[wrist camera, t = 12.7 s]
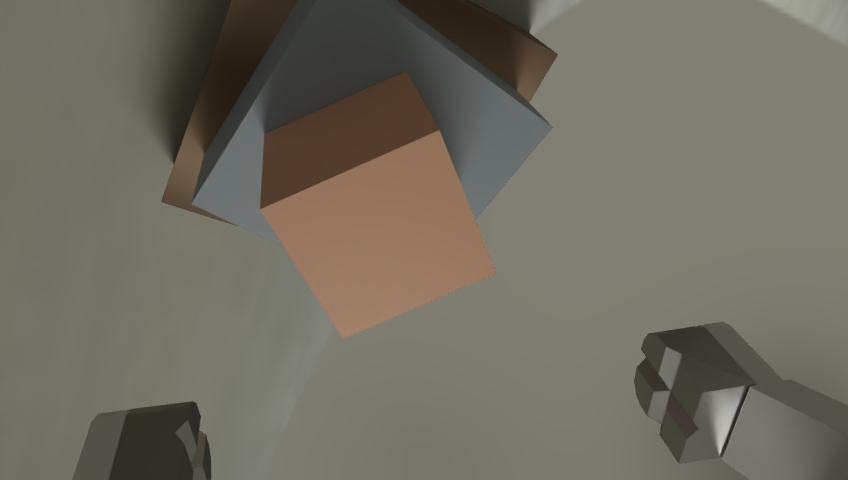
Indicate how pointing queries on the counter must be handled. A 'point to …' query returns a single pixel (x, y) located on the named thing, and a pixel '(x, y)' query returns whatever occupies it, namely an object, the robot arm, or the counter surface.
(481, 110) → the grey block
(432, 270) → the rust cube
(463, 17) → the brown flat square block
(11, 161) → the counter surface
